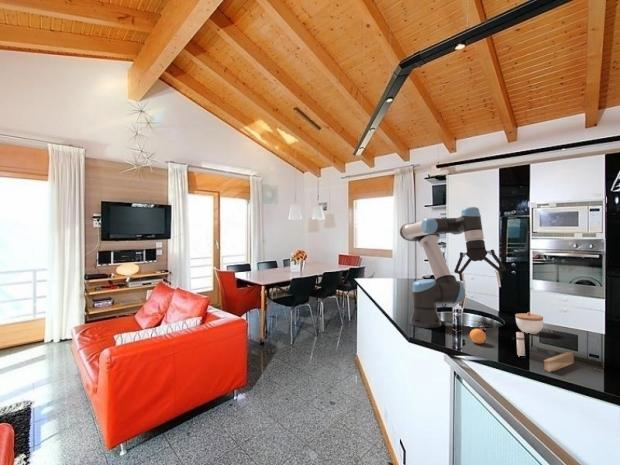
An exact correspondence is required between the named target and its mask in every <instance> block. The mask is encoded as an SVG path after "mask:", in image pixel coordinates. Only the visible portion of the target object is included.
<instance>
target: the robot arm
mask: <svg viewBox="0 0 620 465" xmlns="http://www.w3.org/2000/svg"><path fill="white" fill-rule="evenodd" d="M481 216H482V215H481V213H480V209H479V207H475V206H471V207H465V208H463V209H461V214H460V216H458V217H443V218H441V217H439V218H437V217H435V218H434V217H428V218H423V219H422V221H419V222H407V223H404V224H402V226H401V227H400V228H399V235H400V237H401V238H402V239H403V240H404V241H407V242H418V244H419V247H422V248H423V250H424V253H425V255H426V259H427V260H428V264H429V266H430V268H431V272H432V273H433V274H432V275H433V277H434V279H432V278H427V279H420V280H418V279H417V280H416V281H414V282H413V283H412V305H413V306H412V308H413V309H412V313H411V316H410V320H409V321H410V325H412V326H414V327H418V328H424V329H434V328H435V329H437V328H440V327H441V326H442V320H441V318H440V315H439V312H438V311H437V310H438V308H437V307H438V306H437V305H449V304H452V305H455V304H460V303H459V302H461V303H462V302H463V301H464V299H465V296H466V288H467V287H466V280H465V274H464V271H465V270H466V268H467V267H468V266H469V265H470V263H471V262H472V261H473V262H482V261H485V262H486V263H487V264H488V265H490V266H491V267H493V269H495V270H496V272H495V273H496V279H497V280H496V281H497V287H498V288H502V285H501V283H502V282H501V280H502V279H503V271H505V270H506V269H507V268H506V266H505V265H504V263H503V262H502V261H501V260H500V258H499V257H498V255H497V254H496V252H495V250H494V249H493V248H492V249H490V250H487V248H486V242H485V240H484V239H485V236H484V232H483V225H482V217H481ZM462 233H464V238H465V239H464V240H465V246H466V252H462V251H461V252H459V258H458V260H457V264H456V266H455V269H454V273H455V274H458V277H459V280H457V278H456V276H455V275H453V274H452V273H451V271H450V269H449V266H448V264H447V262H446V260H445V257H444V254H443V252H442V249H441V248H440V245H439V243H438V242H439V241H440V238H441V234H451V235H460V234H462ZM488 254H489V256H491V257H492V258H493V259H494V260H495V262H496V263H497V264H498V265H496V264H495V263H494V262H493V261H492V260H490V259H489V258H488V257H487V255H488ZM465 256H467V257H468V259H467V261H465V263H464V264H463V265H462V267H461V269H460V266H461V264H462V263H463V262H462V261H463V259H464V258H465ZM459 269H460V270H459Z"/></svg>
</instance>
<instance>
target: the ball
mask: <svg viewBox="0 0 620 465" xmlns="http://www.w3.org/2000/svg"><path fill="white" fill-rule="evenodd" d="M469 338H470V340H471V341H472V342H473V343H475V344H480V345H481V344H483V343H484V342H486V338H487V335H486V333H485V331H483V330H482V329H480V328H474V329H472V330H471V331H470V333H469Z"/></svg>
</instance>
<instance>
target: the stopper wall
mask: <svg viewBox="0 0 620 465" xmlns="http://www.w3.org/2000/svg"><path fill="white" fill-rule="evenodd" d="M574 360H575V358H574V352H571V351H566V352H563V353H560V354H557V355H554V356H552V357H549V358H546V359H543V364H544V365H543V366H544V368H543V369H544V370H546V371H549V372H550V373H552V372H551V371H553V372H555V371H558V370H560V369H562V368H565V367H567V366H571V365H572V364H574ZM546 371H545V372H546ZM549 372H548V373H549Z"/></svg>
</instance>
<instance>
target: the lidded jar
mask: <svg viewBox="0 0 620 465" xmlns="http://www.w3.org/2000/svg"><path fill="white" fill-rule="evenodd" d="M514 316H515V323H516V326H517V327H518V329H519V330H520V331H521V332H522V333H524V332H525V333H524V334H528V333H530V334H529V335H538V334H539V332H541V330H543V327H544V326H543V325H544V316H542V315H539V314H535V313H534V314H533V313H531V312H530V311H527V313H525V312H524V313H522V312H521V313H516V314H514ZM537 333H538V334H537Z"/></svg>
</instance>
